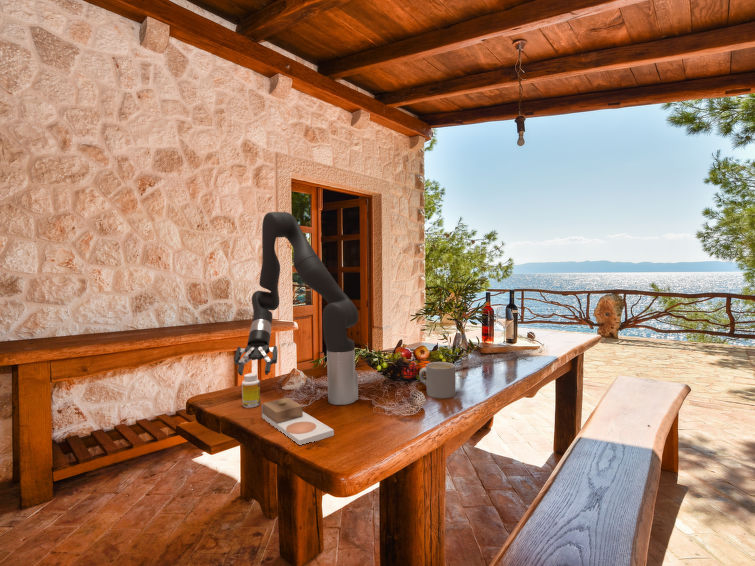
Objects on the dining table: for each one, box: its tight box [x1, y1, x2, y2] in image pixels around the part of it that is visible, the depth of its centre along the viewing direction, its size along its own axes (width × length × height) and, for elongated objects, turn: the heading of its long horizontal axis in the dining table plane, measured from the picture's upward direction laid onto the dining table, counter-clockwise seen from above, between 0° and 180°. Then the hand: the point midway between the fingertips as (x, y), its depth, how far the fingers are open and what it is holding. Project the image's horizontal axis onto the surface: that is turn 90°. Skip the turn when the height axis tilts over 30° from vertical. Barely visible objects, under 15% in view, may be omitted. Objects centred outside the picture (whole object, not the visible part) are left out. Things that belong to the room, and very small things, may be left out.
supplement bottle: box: [241, 372, 261, 409], centre depth 129 cm, size 6×6×10 cm
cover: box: [262, 397, 304, 423], centre depth 116 cm, size 8×10×4 cm
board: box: [261, 404, 335, 446], centre depth 111 cm, size 10×25×4 cm, turn 38°
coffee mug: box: [418, 361, 457, 399], centre depth 138 cm, size 13×10×10 cm
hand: (253, 373), depth 133 cm, fingers open, 8 cm apart
